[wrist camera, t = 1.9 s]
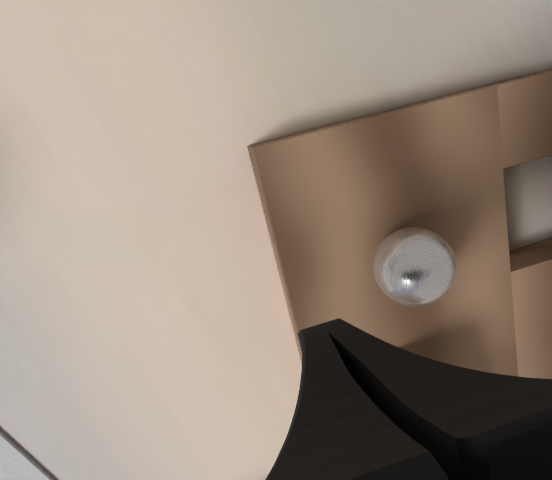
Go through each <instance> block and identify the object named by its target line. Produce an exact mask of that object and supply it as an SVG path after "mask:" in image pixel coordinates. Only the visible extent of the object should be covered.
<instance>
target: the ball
mask: <svg viewBox="0 0 552 480" xmlns="http://www.w3.org/2000/svg"><path fill="white" fill-rule="evenodd" d="M456 271H457V263H456V258H455V255H454V252H453V250H452V248H451V247H450V245H449V244H448V243H447V241H446V240H445V239H444V238H442V237H441V236H440V235H439V234H437V233H435V232H433V231H431V230H428V229H425V228H420V227H408V228H403V229H400V230H397V231H395V232H393V233H391V234H390V235H388V236H387V237H386V238H385V239H384V240H383V241H382V242H381V243H380V245H379V246H378V248H377V250H376V252H375V255H374V259H373V273H374V277H375V280H376V282H377V284H378V286H379V288H380V289H381V290H382V292H383V293H384V294H385V295H386V296H387V297H389V298H390V299H392V300H393V301H395V302H397V303H399V304H402V305H406V306H412V307H418V306H426V305H429V304H432V303H434V302H436V301H438V300H439V299H441V298H442V297H443V296H445V295H446V293H447V292H448V291H449V290H450V288H451V287H452V285H453V283H454V280H455V277H456Z"/></svg>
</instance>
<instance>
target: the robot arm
mask: <svg viewBox="0 0 552 480" xmlns="http://www.w3.org/2000/svg"><path fill="white" fill-rule="evenodd" d="M298 339H299V343H300V347H301V351H302V374H301V382H300V390H299V395H298V400H297V405H296V409H295V413H294V416H293V419H292V422H291V426H290V429H289V432H288V434H287V437H286V440H285V442H284V444H283V446H282V448H281V451H280V453H279V455H278V457H277V460H276V462H275V464H274V466H273V468H272V470H271V471H270V473H269V475H268V476H267V478H266V480H552V379H542V378H527V377H519V376H511V375H502V374H496V373H489V372H483V371H478V370H473V369H468V368H464V367H459V366H455V365H451V364H447V363H443V362H440V361H436V360H433V359H430V358H426V357H423V356H420V355H417V354H414V353H412V352H409V351H407V350H404V349H402V348H399V347H397V346H394V345H392V344H390V343H387V342H385V341H383V340H381V339H379V338H377V337H375V336H372V335H371V334H369V333H367V332H365V331H363V330H361V329H359V328H357V327H355V326H353V325H351V324H349V323H348V322H346V321H344V320H342V319H340V318H338V319H335V320H331V321H328V322H325V323H322V324H318V325H315V326H312V327H309V328H305V329H302V330H300V331H299V333H298Z"/></svg>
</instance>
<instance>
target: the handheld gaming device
mask: <svg viewBox="0 0 552 480" xmlns="http://www.w3.org/2000/svg"><path fill="white" fill-rule="evenodd" d="M0 480H54V479H53V478H52V477H51V476H50V475H49V474H47V473H46V472H45V471H44V470H43V469H42V468H41V467H40V466H39V465H37V464H36V463H35V462H34V461H33V460H32V459H31V458H30V457H29V456H27V455H26V454H25V453H24V452H23V451H22V450H21V449H20V448H19V447H18V446H16V445H15V444H14V443H13V442H12V441H11V440H10V439H9V438H8V437H6V436H5V435H4V434H3V433H2V432H1V431H0Z"/></svg>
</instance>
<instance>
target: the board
mask: <svg viewBox="0 0 552 480" xmlns="http://www.w3.org/2000/svg"><path fill="white" fill-rule="evenodd" d="M247 147H248V151H249V155H250V159H251V163H252V167H253V171H254V175H255V179H256V183H257V187H258V191H259V195H260V199H261V203H262V207H263V211H264V215H265V219H266V223H267V227H268V231H269V234H270V238H271V242H272V246H273V250H274V254H275V258H276V262H277V266H278V270H279V274H280V278H281V282H282V286H283V290H284V294H285V298H286V302H287V306H288V310H289V314H290V318H291V322H292V326H293V330H294V334H295V338H296V342H297V346H298V350H299V354H300V358H301V362H302V351H301V347H300V343H299V339H298V333H299V331H300V330H302V329H305V328H309V327H312V326H315V325H318V324H322V323H325V322H328V321H331V320H335V319H338V318H340V319H342V320H344V321H346V322H348V323H349V324H351V325H353V326H355V327H357V328H359V329H361V330H363V331H365V332H367V333H369V334H371V335H372V336H375V337H377V338H379V339H381V340H383V341H385V342H387V343H390V344H392V345H394V346H397V347H399V348H402V349H404V350H407V351H409V352H412V353H414V354H417V355H420V356H423V357H426V358H430V359H433V360H436V361H440V362H443V363H447V364H451V365H455V366H459V367H464V368H468V369H473V370H478V371H483V372H489V373H496V374H502V375H511V376H519V377H527V378H542V379H552V239H549V240H546V241H542V242H539V243H536V244H532V245H529V246H526V247H523V248H519V249H516V250H513V251H509V242H508V228H507V214H506V200H505V186H504V172H503V169H504V168H507V167H511V166H514V165H518V164H521V163H525V162H529V161H532V160H536V159H539V158H543V157H546V156H550V155H552V69H550V70H546V71H542V72H538V73H534V74H530V75H526V76H522V77H519V78H515V79H511V80H507V81H503V82H499V83H495V84H491V85H487V86H483V87H479V88H475V89H471V90H467V91H463V92H460V93H456V94H452V95H448V96H444V97H440V98H436V99H432V100H428V101H424V102H420V103H416V104H412V105H408V106H405V107H401V108H397V109H393V110H389V111H385V112H381V113H377V114H373V115H369V116H365V117H361V118H357V119H353V120H349V121H346V122H342V123H338V124H334V125H330V126H326V127H322V128H318V129H314V130H310V131H306V132H302V133H298V134H294V135H291V136H287V137H283V138H279V139H275V140H271V141H267V142H263V143H259V144H255V145H251V146H247ZM408 227H420V228H425V229H428V230H431V231H433V232H435V233H437V234H439V235H440V236H441V237H442V238H444V239H445V240H446V241H447V243H448V244H449V245H450V247H451V248H452V250H453V252H454V255H455V258H456V263H457V271H456V277H455V280H454V283H453V285H452V287H451V288H450V290H449V291H448V292H447V293H446V295H445V296H443V297H442V298H441V299H439V300H438V301H436V302H434V303H432V304H429V305H426V306H418V307H412V306H406V305H402V304H399V303H397V302H395V301H393V300H392V299H390V298H389V297H387V296H386V295H385V294H384V293H383V292H382V290H381V289H380V288H379V286H378V284H377V282H376V280H375V277H374V273H373V259H374V255H375V252H376V250H377V248H378V246H379V245H380V243H381V242H382V241H383V240H384V239H385V238H386V237H387V236H388V235H390V234H391V233H393V232H395V231H397V230H400V229H403V228H408Z"/></svg>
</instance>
